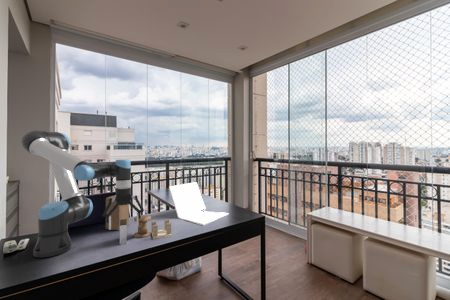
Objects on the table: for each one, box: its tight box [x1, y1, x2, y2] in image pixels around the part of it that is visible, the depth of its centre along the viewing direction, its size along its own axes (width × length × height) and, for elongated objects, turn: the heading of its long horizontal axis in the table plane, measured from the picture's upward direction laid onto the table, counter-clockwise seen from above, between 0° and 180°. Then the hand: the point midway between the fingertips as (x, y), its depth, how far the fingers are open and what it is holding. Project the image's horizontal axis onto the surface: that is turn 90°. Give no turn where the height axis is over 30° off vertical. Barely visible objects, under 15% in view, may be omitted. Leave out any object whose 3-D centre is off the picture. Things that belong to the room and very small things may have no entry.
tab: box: [119, 219, 128, 246], centre depth 117 cm, size 3×9×11 cm, turn 24°
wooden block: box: [105, 194, 130, 231], centre depth 138 cm, size 10×10×20 cm
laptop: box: [168, 181, 230, 227], centre depth 162 cm, size 30×35×23 cm
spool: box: [133, 215, 152, 239], centre depth 126 cm, size 9×9×10 cm
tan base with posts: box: [150, 219, 172, 240], centre depth 126 cm, size 10×10×7 cm
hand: (124, 226), depth 117 cm, fingers open, 13 cm apart
